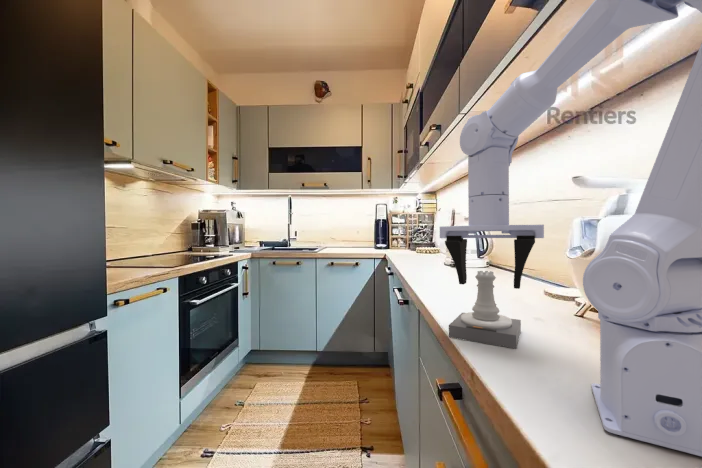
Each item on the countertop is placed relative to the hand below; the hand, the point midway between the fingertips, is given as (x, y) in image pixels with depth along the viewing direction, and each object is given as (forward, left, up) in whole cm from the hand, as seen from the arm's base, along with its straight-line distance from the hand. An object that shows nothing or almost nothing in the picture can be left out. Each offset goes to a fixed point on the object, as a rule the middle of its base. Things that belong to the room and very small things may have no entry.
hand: (488, 285), depth 48 cm
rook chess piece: (+6, +1, -7) cm, 9 cm away
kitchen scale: (+6, +1, -9) cm, 11 cm away
